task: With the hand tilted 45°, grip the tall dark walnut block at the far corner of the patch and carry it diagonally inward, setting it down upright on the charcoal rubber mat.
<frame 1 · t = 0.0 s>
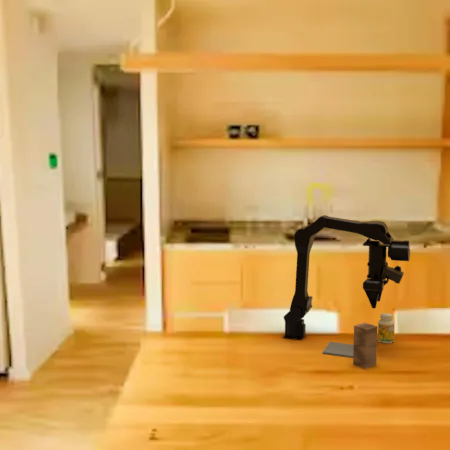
hand: (376, 304, 199), 15 cm above the table, tool pointing down, fingers open, 9 cm apart
charcoal mat: (342, 350, 197), on the table
supplement bottle: (385, 341, 206), on the table
walnut block: (364, 364, 184), on the table
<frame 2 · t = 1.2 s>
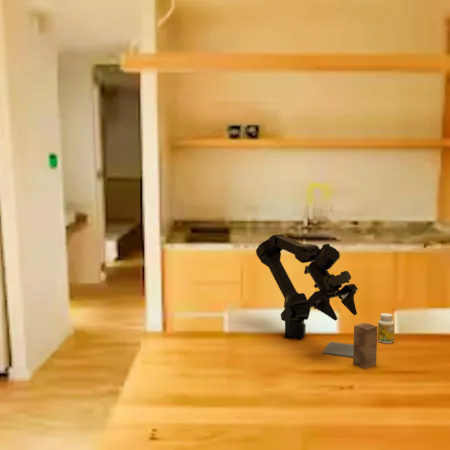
hand: (346, 317, 189), 13 cm above the table, tool tilted 45°, fingers open, 9 cm apart
nothing on the table moved.
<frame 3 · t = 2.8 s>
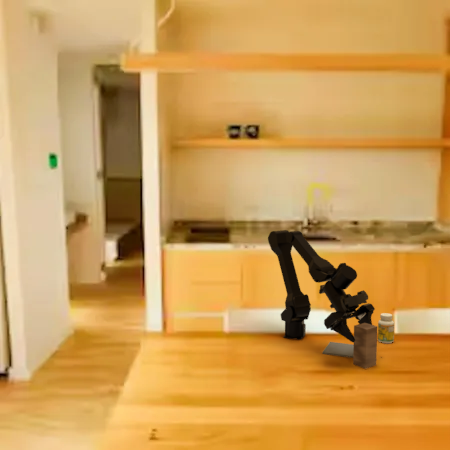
hand: (364, 338, 184), 8 cm above the table, tool tilted 45°, fingers open, 9 cm apart
nothing on the table moved.
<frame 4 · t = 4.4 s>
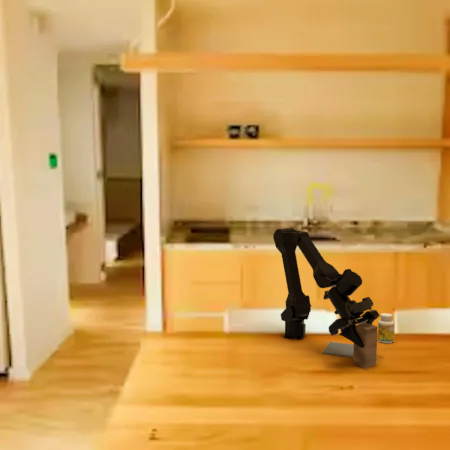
hand: (368, 345, 182), 7 cm above the table, tool tilted 45°, fingers closed on walnut block, 5 cm apart
walnut block: (364, 364, 184), on the table, touching gripper
everything else where it was.
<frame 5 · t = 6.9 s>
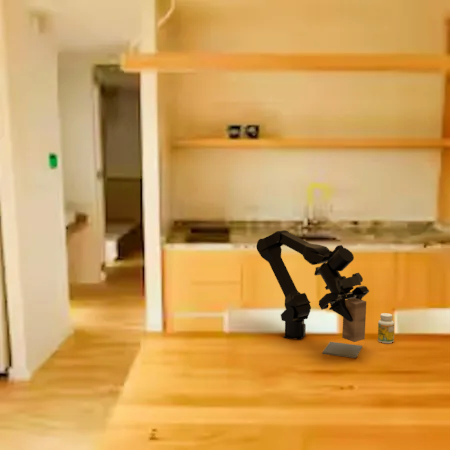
hand: (357, 319, 187), 13 cm above the table, tool tilted 45°, fingers closed on walnut block, 5 cm apart
walnut block: (353, 338, 190), point 6 cm above the table, touching gripper
everything else where it was.
when the fingers open (8 cm above the table, at t = 9.6 s): walnut block drops 1 cm, resting on charcoal mat.
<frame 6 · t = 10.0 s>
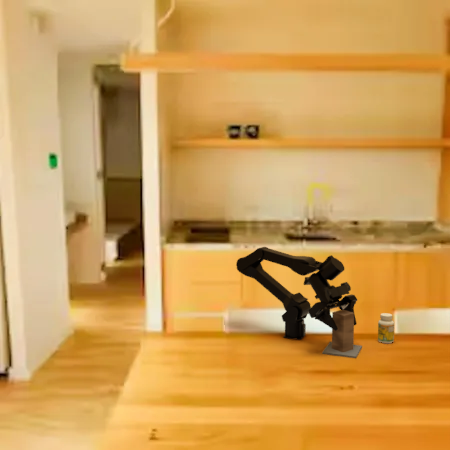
hand: (346, 327, 195), 8 cm above the table, tool tilted 45°, fingers open, 9 cm apart
walnut block: (342, 348, 197), point 1 cm above the table, touching charcoal mat
everything else where it was.
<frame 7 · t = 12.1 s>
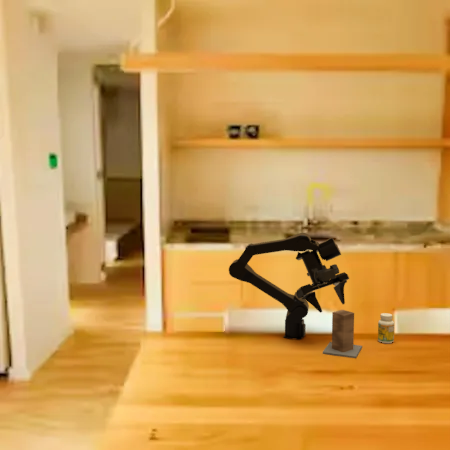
hand: (332, 308, 202), 13 cm above the table, tool tilted 30°, fingers open, 9 cm apart
nothing on the table moved.
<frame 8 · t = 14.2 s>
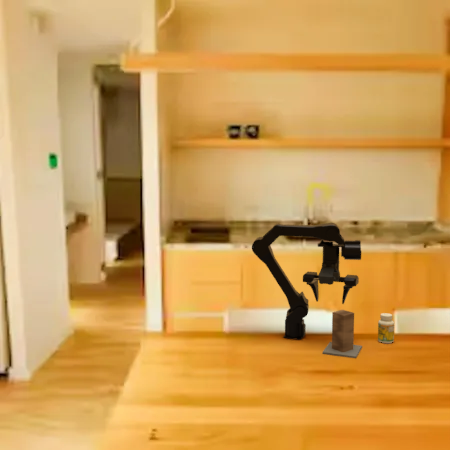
hand: (330, 302, 208), 13 cm above the table, tool pointing down, fingers open, 9 cm apart
nothing on the table moved.
at the end: walnut block inside the target area on the charcoal mat (0.0 cm from its centre), point 0.6 cm above the charcoal mat's base; walnut block tilted 0°; the gripper is holding nothing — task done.
